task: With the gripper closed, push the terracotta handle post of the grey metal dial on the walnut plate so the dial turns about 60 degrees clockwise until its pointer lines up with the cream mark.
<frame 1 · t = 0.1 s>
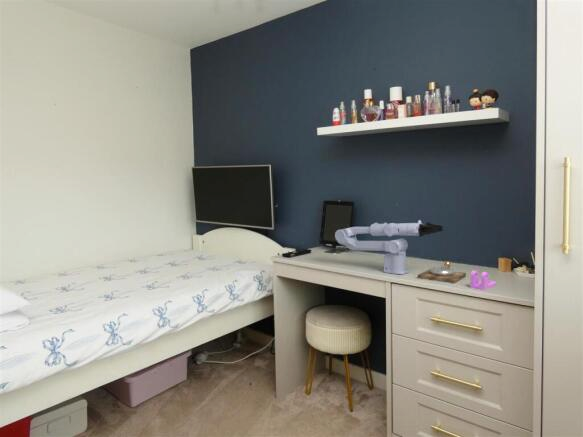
hand: (439, 229, 187), 22 cm above the table, tool horizontal, fingers open, 7 cm apart
bracket: (484, 287, 174), on the table
dial: (443, 268, 191), point 4 cm above the table, hinge at 0.0°
dial plate: (442, 277, 190), on the table
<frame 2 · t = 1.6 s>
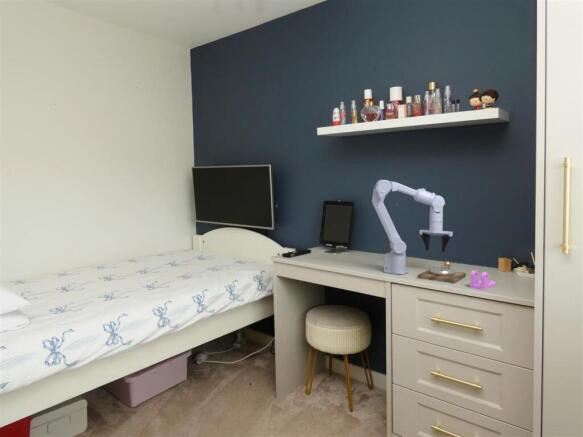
hand: (435, 250, 198), 10 cm above the table, tool pointing down, fingers open, 7 cm apart
nothing on the table moved.
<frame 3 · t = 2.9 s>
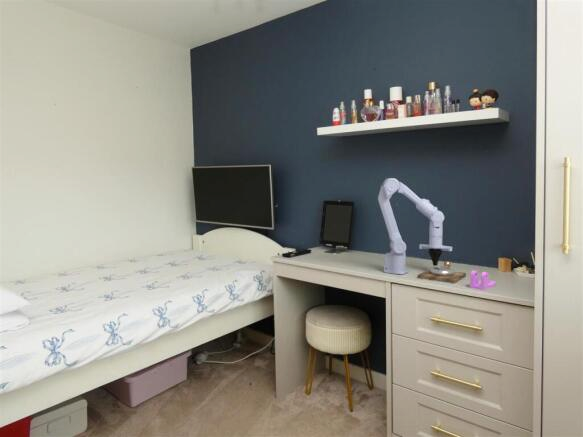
hand: (435, 265, 199), 4 cm above the table, tool pointing down, fingers closed
nothing on the table moved.
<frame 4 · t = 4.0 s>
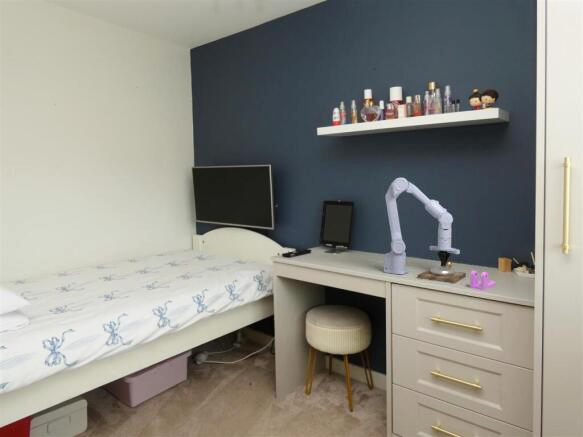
hand: (443, 267, 196), 3 cm above the table, tool pointing down, fingers closed, pressing on dial
dial: (443, 268, 191), point 4 cm above the table, hinge at -4.4°, touching gripper
everything else where it was.
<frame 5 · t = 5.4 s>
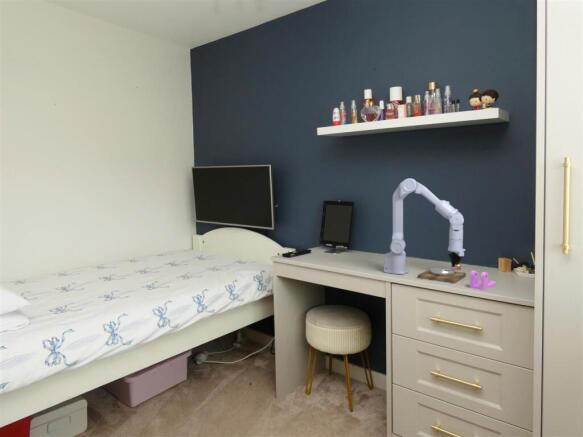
hand: (455, 269, 192), 3 cm above the table, tool pointing down, fingers closed, pressing on dial
dial: (445, 268, 190), point 4 cm above the table, hinge at -50.4°, touching gripper
everything else where it was.
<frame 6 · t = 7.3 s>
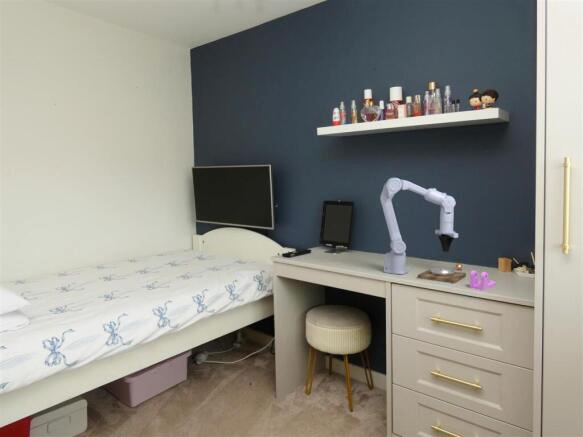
hand: (445, 251, 197), 10 cm above the table, tool pointing down, fingers closed
dial: (446, 269, 189), point 4 cm above the table, hinge at -63.5°
everything else where it was.
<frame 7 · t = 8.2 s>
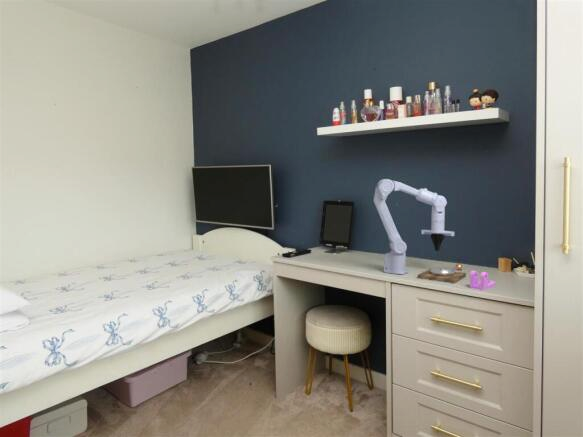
hand: (437, 250, 198), 10 cm above the table, tool pointing down, fingers closed
nothing on the table moved.
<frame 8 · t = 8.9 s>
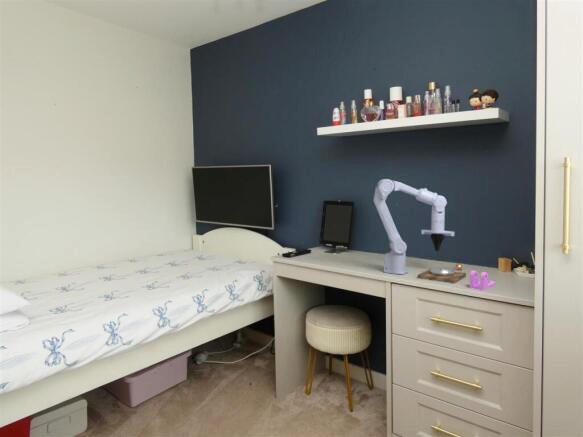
hand: (437, 250, 198), 10 cm above the table, tool pointing down, fingers closed
nothing on the table moved.
at the end: dial at -64° (first picture: +0°) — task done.
